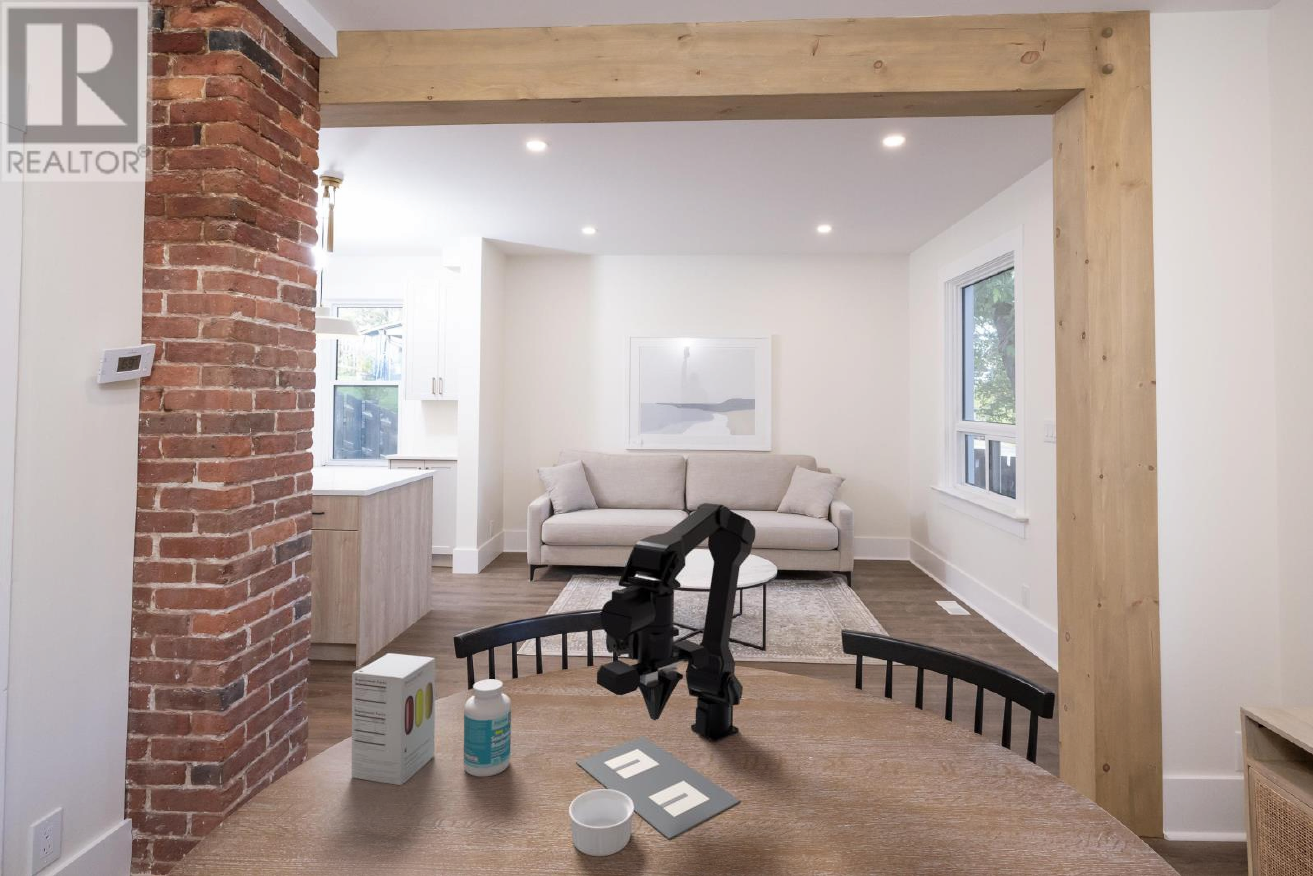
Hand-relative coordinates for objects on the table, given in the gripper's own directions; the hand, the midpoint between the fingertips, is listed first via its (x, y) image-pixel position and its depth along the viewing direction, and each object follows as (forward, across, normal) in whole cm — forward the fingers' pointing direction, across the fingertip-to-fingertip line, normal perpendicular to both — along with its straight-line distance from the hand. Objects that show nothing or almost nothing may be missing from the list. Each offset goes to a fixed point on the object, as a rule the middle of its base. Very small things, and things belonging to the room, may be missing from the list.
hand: (654, 719), depth 99 cm
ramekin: (+10, +14, +6) cm, 18 cm away
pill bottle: (+10, +19, -20) cm, 29 cm away
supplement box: (+10, +30, -30) cm, 44 cm away
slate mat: (+10, 0, 0) cm, 10 cm away
